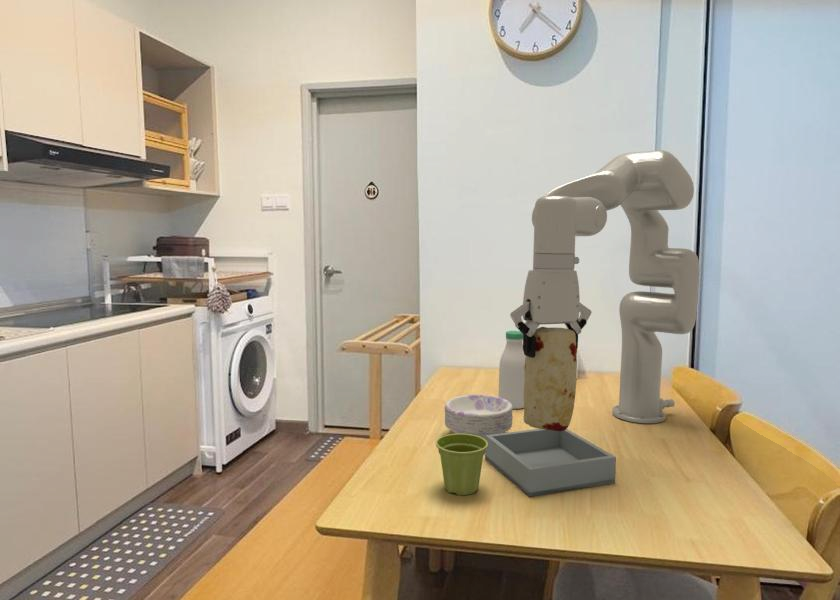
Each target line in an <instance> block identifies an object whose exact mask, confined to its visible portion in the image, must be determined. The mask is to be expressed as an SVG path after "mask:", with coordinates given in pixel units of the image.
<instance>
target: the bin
mask: <svg viewBox="0 0 840 600" xmlns="http://www.w3.org/2000/svg"><path fill="white" fill-rule="evenodd" d="M485 440H486V441H487V442H488V447H487V448H486V449H485V454H484V460H486V461H487V462H488V463H489V464H490V465H492V466H493V467H494V468H495V469H496V470H497V471H498V472H500V473H501V474H502V475H503V476H504V477H505V478H507V479H508V480H509V481H510V482H511V483H512V484H514V485H515V486H516V487H517V488H518V489H519V490H521V491H522V492H523V493H524V494H525V495H526V496H527V497H528V498H530V497H531V498H532V497H537V496H543V495H544V496H545V495H550V494H557V493H562V492H567V491H575V490H581V489H586V488H593V487H599V486H604V485H605V486H606V485H611V484H612V485H613V484H616V472H617V456H616V455H613V454H611V453H610V452H608V451H606V450H604V449H603V448H601V447H599V446H597V445H596V444H595V443H592V442H591V441H589V440H587V439H585V438H584V437H582V436H580V435H578V434H576V433H575V432H573V431H572V430H570V429H568V428H567V429H566V430H564V431H553V430H544V429H538V428H534V429H526V430H518V431H511V432H509V431H507V432H504V433H500V434H492V435H485Z"/></svg>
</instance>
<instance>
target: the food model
mask: <svg viewBox="0 0 840 600" xmlns="http://www.w3.org/2000/svg"><path fill="white" fill-rule="evenodd" d="M533 336H535V337H536V354H535V357H534V358H531V357H528V356H525V368H524V408H523V422H524V423H525V425H528V426H529V427H532V428H534V429H544V430H553V431H564V430H566V429H568V427H570V424H571V421H572V417H573V413H574V408H575V402H576V395H577V394H576V392H577V391H576V390H577V382H578V381H577V380H578V379H577V378H578V377H577V371H578V359H577V356H578V355H577V354H578V353H577V354H576V336H575V332H574V331H572V330H569V329H567V327H546V326H540V327H538V328H537V330H536V331H535V333H534V334H533Z"/></svg>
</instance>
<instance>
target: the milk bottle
mask: <svg viewBox="0 0 840 600" xmlns="http://www.w3.org/2000/svg"><path fill="white" fill-rule="evenodd" d="M505 340H506V343H505V347H504V350H503V351H502V353H501V356H500V359H499V369H498V397H500V398H503V399H506V400H508V401H509V402H510V403H511V404H512V407H513V409H512V410H520V409H521V410H522V409H524V368H525V356H526V355H524V351H523V334H521V332H520V330H509V331H508V330H507V331H506V332H505Z"/></svg>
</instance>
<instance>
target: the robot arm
mask: <svg viewBox="0 0 840 600" xmlns="http://www.w3.org/2000/svg"><path fill="white" fill-rule="evenodd" d="M694 189H695V188H694V182H693V179H692V177H691V176H690V174H689V172H688V171H687V170H686V168H685V167H684V165H683V164H682V163H681V161H680V160H679V159H678V158H677V157H676V156H675V155H674V154H673V153H671V152H669V151H666V150H661V149H658V150H647V151H636V152H635V151H634V152H626V153H622V154H620V155H618V156H616V157H614V158H613V159H611V160H610V161H609V162H608V163H606V164H605V165H604V166H602V167H601V168H599V169H598V170H597V171H596V172H595V173H592V174H590V175H589V174H588V175H586V176H583V177H581V178H579V179H578V178H577V179H576V180H573V181H571V182H570V181H569V182H567V183H565V184H562V185H559V186H557V187H555V188H553V189H552V190H550V191H548V192H547V193H546V194H544V195H543V196H541V197H539V198H537V199H536V202H535V204H534V207H533V208H532V209H533V210H532V212H531V213H532V215H531V222H532V223H531V224H532V227H533V249H532V250H533V254H532V255H533V256H532V270H531V269H529V270H528V272H527V276H526V280H525V285H524V291H523V299H522V304H521V305H520V306H519V307H517V308H516V309H514V310H513V311H511V312H510V314H509V315H510V318H511V320H512V321H513V323H514V326H515V328H516V329H518V331H520V332H521V334H523V341H522V344H523V351H524V355H526V356H528V357H531V358H534V357H535V354H536V337H535V336H533V334H534V333H535V331H536V330H537V328H539V326H540V325H560V324H561V325H562V324H564V326H565V328H566V329H569V330H572V331H574V332H575V336H576V354H578V353H577V352H578V348H579V347H578V346H579V335H580V334H581V333H582V330H583V329H584V327H585V326H586V325H587V321H589V319H590V316H591V315H592V313H593V312H592V310H591V309H590V308H588V307H587V306H586V305H584V304H582V303H581V302H580V299H581V298H580V297H581V296H580V286H579V283H580V282H579V278H578V273H577V270H575V265H578V264H579V263H580V258H579V257H578V256H576V252H575V251H576V237H592V236H595V235H598V233H600V232H601V231H603V229H604V228H605V226H606V224H607V221H608V211H610V210H614V209H617V208H618V207H619V206H620V207H621V208H622V209H623V212H624V213H625V215H626V218H627V219H628V223H629V226H630V233H631V234H630V246H629V248H630V250H629V262H628V276H629V279H630V281H631V282H632V284H635V285H637V286H643V287H654V288H665V289H667V288H668V289H670V288H671V289H673V291H674V293H664V292H654V291H632V292H629V293H626V294H625V295H624V296H623V297H622V299H621V300H620V303H619V306H618V307H619V310H618V311H619V317H620V318H619V320H620V325H621V353H620V357H621V358H620V375H619V376H620V377H619V378H620V379H619V396H618V397H619V398H618V399H619V400H618V405H615V406H613V407H612V411H611V413H612V415H613V416H614V417H616V418H617V419H621V420H623V421H626V422H631V423H638V424H657V423H661V422H664V421H665V420H666V417H667V416H666V413H665V412H664V411H663V410H664V409H665V408H673V407H675V401H674V399H672V398H670V399H663V398H662V397H660V396H661V382H662V381H661V380H662V379H661V378H662V367H663V365H662V363H663V347H662V344H661V342H660V340H659V338H658V336H657V335H656V333H664V334H665V333H666V334H673V335H674V334H675V335H685V334H689V333H691V332H692V330H694V327H695V325H696V321H697V320H696V319H697V314H698V313H697V311H698V299H699V287H700V285H699V284H700V272H701V270H700V261H699V257H698V255H697V254H696V253H695V252H694V251H693V250H691V249H689V248H676V247H675V248H674V247H673V248H671V247H670V248H669V245H668V244H669V231H670V230H669V225H668V223H667V221H666V220H665V218H664V217H663V215H662V213H660V212H659V211H678V210H682V209H685V208H686V207H688V206H689V205H690V204H691V203H692V200H693V198H694V194H695V193H694V192H695V190H694ZM523 320H524V321H525V322H524V321H523Z"/></svg>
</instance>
